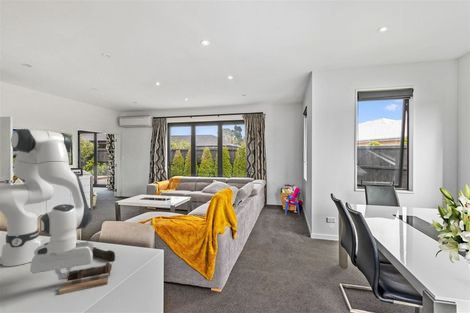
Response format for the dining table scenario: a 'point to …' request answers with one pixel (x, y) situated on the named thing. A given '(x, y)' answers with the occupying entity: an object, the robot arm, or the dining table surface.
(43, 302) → the dining table surface
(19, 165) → the robot arm
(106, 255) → the carved wooden phallus
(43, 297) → the dining table surface
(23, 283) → the dining table surface
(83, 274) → the bolt
